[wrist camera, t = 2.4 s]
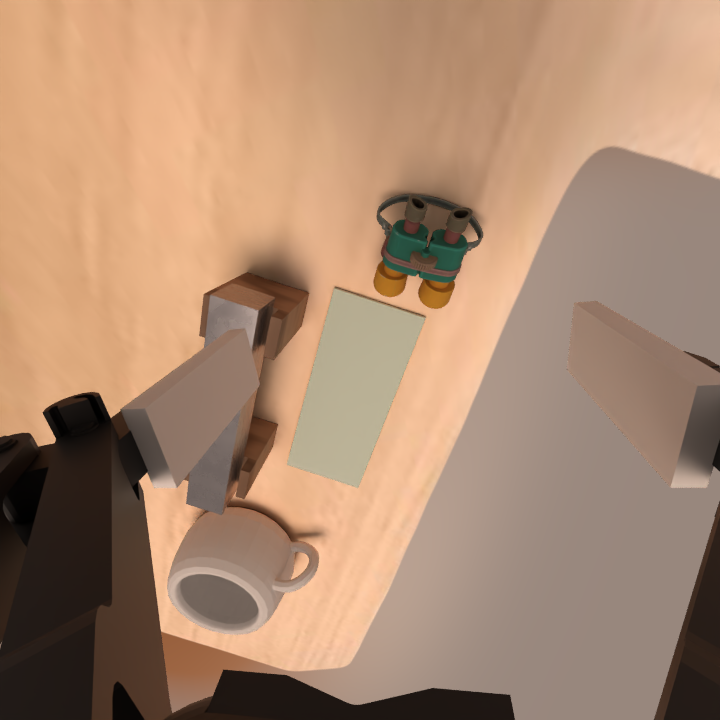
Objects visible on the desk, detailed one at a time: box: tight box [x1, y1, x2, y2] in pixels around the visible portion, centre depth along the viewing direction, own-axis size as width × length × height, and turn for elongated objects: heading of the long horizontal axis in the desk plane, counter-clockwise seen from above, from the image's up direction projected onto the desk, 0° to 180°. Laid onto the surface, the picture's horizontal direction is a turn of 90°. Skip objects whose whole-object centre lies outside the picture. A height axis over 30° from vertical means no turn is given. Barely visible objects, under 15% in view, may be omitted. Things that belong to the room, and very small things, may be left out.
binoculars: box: [374, 194, 483, 309], centre depth 31 cm, size 9×9×10 cm
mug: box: [167, 507, 319, 635], centre depth 53 cm, size 21×17×10 cm
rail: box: [186, 283, 276, 515], centre depth 36 cm, size 4×24×4 cm, turn 164°
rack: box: [184, 273, 309, 499], centre depth 40 cm, size 7×22×9 cm, turn 164°
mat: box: [287, 287, 425, 488], centre depth 44 cm, size 10×25×1 cm, turn 164°
